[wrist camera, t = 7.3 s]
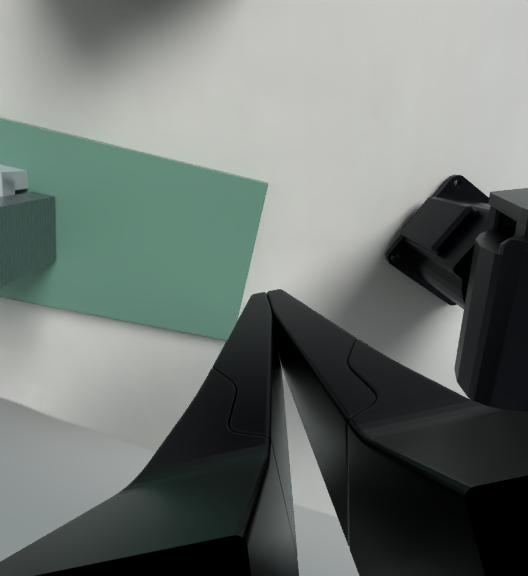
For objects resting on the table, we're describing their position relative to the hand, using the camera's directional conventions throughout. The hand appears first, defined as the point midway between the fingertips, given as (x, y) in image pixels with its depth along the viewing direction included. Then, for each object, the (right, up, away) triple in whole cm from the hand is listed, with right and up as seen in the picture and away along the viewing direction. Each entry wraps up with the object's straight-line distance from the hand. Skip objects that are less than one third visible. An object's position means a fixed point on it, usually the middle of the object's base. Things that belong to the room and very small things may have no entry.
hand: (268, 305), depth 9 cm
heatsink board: (-12, +4, +11) cm, 17 cm away
